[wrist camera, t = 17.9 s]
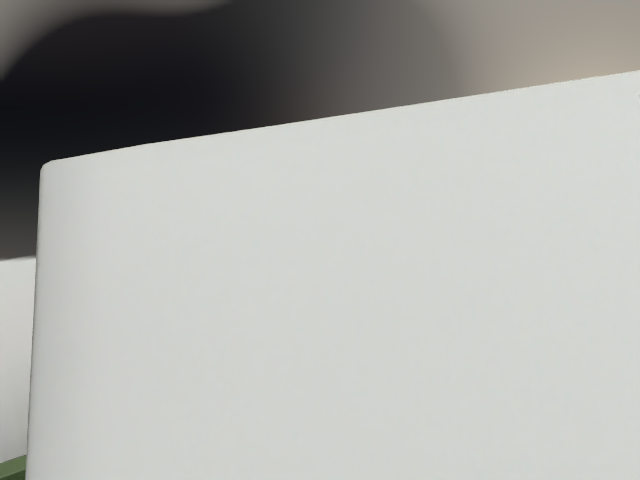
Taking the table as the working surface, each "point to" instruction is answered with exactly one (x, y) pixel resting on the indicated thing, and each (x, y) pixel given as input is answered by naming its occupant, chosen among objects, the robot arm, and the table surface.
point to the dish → (13, 469)
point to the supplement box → (349, 297)
